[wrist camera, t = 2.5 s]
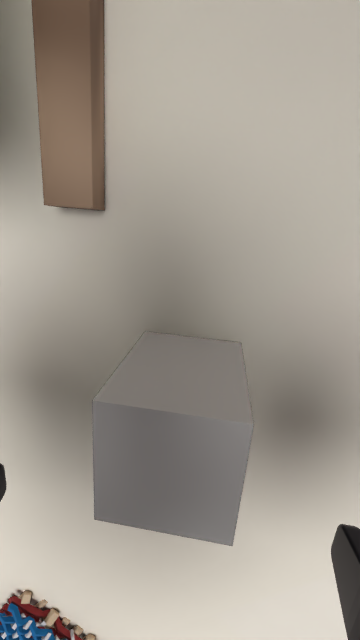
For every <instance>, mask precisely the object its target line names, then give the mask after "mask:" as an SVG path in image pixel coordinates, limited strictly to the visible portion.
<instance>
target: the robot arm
mask: <svg viewBox="0 0 360 640" xmlns="http://www.w3.org/2000/svg"><path fill="white" fill-rule="evenodd" d="M5 491H6V478H5V471H4V466H3V465H2V464H1V463H0V501H1V500H2V498H3V496H4V494H5ZM331 557H332V563H333V568H334V573H335V578H336V583H337V588H338V593H339V598H340V603H341V608H342V613H343V618H344V623H345V628H346V632H347V637H348V640H360V529H359V528H357V527H355V526H350V525H345V524H340V525H339V526H338V528H337V531H336V534H335V537H334V540H333V543H332V547H331Z"/></svg>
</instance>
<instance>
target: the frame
mask: <svg viewBox="0 0 360 640" xmlns="http://www.w3.org/2000/svg"><path fill="white" fill-rule="evenodd" d="M32 16H33V32H34V48H35V65H36V81H37V97H38V113H39V130H40V146H41V162H42V178H43V195H44V205H48V206H56V207H66V208H80V209H93V210H104V0H32Z"/></svg>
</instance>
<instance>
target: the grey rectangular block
mask: <svg viewBox="0 0 360 640" xmlns="http://www.w3.org/2000/svg"><path fill="white" fill-rule="evenodd" d="M92 414H93V469H94V520H100V521H105V522H110V523H115V524H120V525H125V526H131V527H136V528H141V529H146V530H151V531H156V532H162V533H167V534H172V535H177V536H182V537H187V538H193V539H198V540H203V541H208V542H213V543H218V544H224V545H229V546H233V540H234V535H235V529H236V523H237V518H238V512H239V506H240V501H241V495H242V489H243V484H244V478H245V472H246V467H247V461H248V455H249V449H250V444H251V438H252V432H253V427H254V422H253V415H252V409H251V402H250V396H249V389H248V383H247V377H246V370H245V364H244V357H243V351H242V344H241V343H239V342H231V341H222V340H214V339H205V338H197V337H189V336H180V335H172V334H163V333H155V332H146V331H145V332H144V333H143V335H142V336H141V337H140V339H139V340H138V341H137V342H136V344H135V345H134V346H133V348H132V349H131V350H130V352H129V353H128V354H127V356H126V357H125V358H124V359H123V361H122V362H121V363H120V365H119V366H118V367H117V369H116V370H115V371H114V373H113V374H112V375H111V377H110V378H109V379H108V380H107V382H106V383H105V384H104V386H103V387H102V388H101V390H100V391H99V392H98V394H97V395H96V396H95V398H94V399H93V400H92Z"/></svg>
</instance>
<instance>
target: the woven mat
mask: <svg viewBox="0 0 360 640" xmlns="http://www.w3.org/2000/svg"><path fill="white" fill-rule="evenodd" d="M30 600H31V592H30V591H24V592H23V593H22V594H21V595H20V596H19V597H16V596H12V597H10V598H9V599H8V602H9V604H7V603H6V604H5V605H4V606H3V607H2V610H3V611H2V610H0V640H95V636H94V635H92V634H88V635H86V636H85V637H83V638H82V639H81V638H80V637H79V636H80V635H81V633H82V632H83V629H82V628H80V627H79V626H78V625H77V626H75V627H73V628H72V629H70V630H68V629H66V628H65V626H67V625H68V624H69V623H70V620H69V619H67V618H66V617H64V618H63V619H62V620H60V618H59V612H58V611H57V610H55V609H54V608H52V609H51V610H50V609H48V610H44V611H42V610H41V609H42V608H43V607H44V606H45V605H46V604H47V603H48V602H47V601H46V600H42V601H40V602H39V603H37V604H36V605H34V606H33V605H31V604H30ZM53 624H54V626H52V625H53ZM51 626H52V627H51Z"/></svg>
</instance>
